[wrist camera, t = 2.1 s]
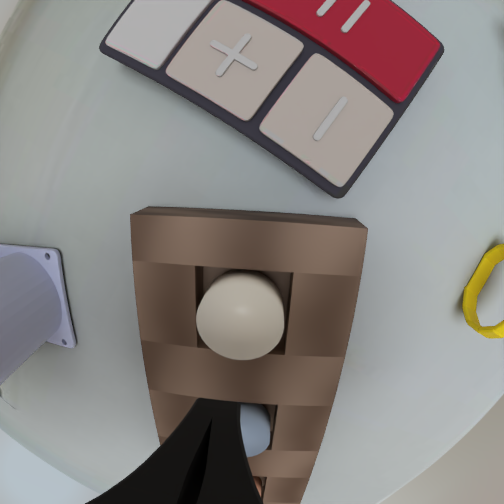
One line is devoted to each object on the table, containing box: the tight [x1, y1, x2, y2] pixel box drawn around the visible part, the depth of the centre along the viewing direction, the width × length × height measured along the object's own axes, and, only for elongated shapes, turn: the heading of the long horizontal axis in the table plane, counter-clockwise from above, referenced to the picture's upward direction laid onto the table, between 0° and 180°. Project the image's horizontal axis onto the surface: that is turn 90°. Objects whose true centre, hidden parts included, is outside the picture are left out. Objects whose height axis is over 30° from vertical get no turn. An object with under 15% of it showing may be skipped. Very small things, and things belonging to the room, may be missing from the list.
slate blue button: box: [224, 400, 271, 457], centre depth 19 cm, size 4×4×2 cm
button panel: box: [130, 206, 368, 504], centre depth 21 cm, size 12×28×3 cm, turn 177°
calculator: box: [99, 0, 444, 198], centre depth 14 cm, size 11×4×15 cm
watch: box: [462, 244, 504, 338], centre depth 15 cm, size 6×3×6 cm, turn 154°
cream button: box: [196, 269, 284, 360], centre depth 17 cm, size 4×4×2 cm
